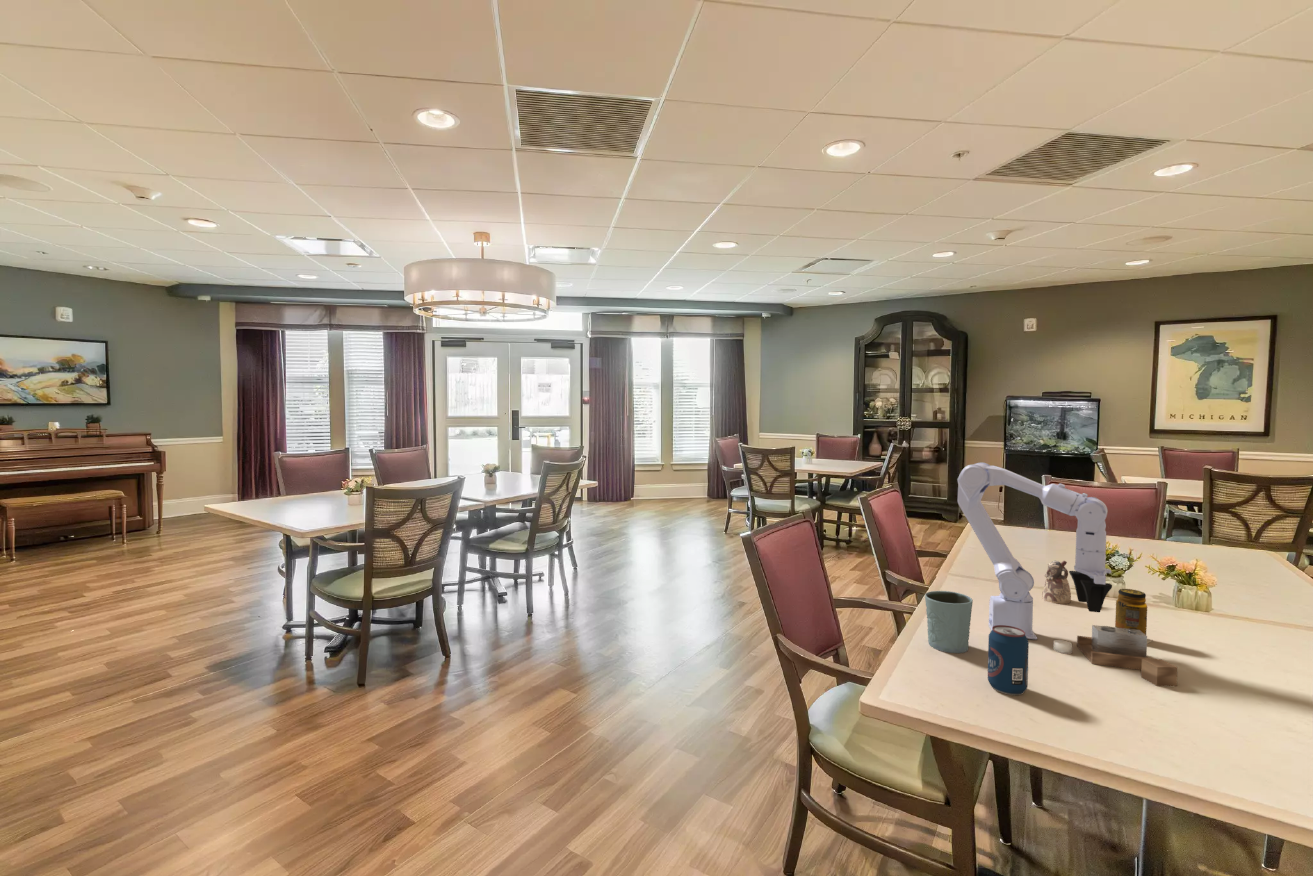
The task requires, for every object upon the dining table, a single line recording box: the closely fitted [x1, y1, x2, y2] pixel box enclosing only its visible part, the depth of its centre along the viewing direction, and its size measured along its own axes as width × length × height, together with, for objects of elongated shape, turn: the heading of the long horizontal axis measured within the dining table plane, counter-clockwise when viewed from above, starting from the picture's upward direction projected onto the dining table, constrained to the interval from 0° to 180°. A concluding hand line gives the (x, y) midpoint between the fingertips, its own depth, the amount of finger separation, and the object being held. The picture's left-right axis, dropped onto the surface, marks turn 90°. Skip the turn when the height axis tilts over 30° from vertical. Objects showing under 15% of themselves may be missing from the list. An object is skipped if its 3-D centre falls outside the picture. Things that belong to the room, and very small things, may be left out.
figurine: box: [1041, 560, 1072, 605], centre depth 176 cm, size 7×7×12 cm
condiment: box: [1114, 588, 1153, 645], centre depth 145 cm, size 7×8×12 cm
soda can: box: [987, 625, 1029, 696], centre depth 119 cm, size 7×7×12 cm
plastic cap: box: [1052, 639, 1073, 655], centre depth 139 cm, size 4×4×2 cm
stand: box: [1076, 635, 1154, 671], centre depth 134 cm, size 12×11×2 cm
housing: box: [1091, 624, 1148, 658], centre depth 134 cm, size 4×9×6 cm, turn 69°
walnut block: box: [1140, 658, 1178, 687], centre depth 122 cm, size 4×4×4 cm
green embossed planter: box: [924, 590, 974, 654], centre depth 141 cm, size 10×10×12 cm
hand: (1088, 606), depth 140 cm, fingers open, 7 cm apart
